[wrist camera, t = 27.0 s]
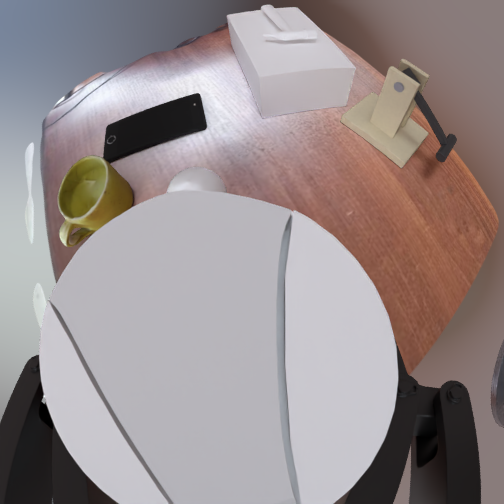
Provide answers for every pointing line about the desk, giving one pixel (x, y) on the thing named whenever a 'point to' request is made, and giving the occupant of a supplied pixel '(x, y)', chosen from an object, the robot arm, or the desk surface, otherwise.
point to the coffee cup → (218, 356)
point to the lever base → (391, 115)
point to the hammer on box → (289, 61)
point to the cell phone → (154, 126)
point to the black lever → (433, 123)
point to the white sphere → (197, 181)
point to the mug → (91, 198)
